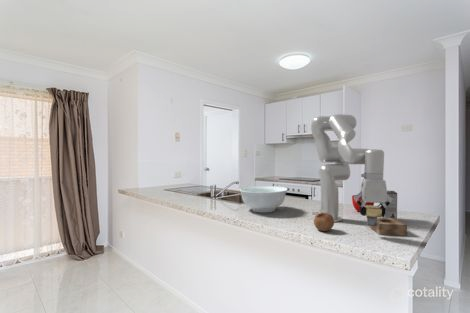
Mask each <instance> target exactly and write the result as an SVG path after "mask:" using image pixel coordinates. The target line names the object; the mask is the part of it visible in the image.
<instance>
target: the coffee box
mask: <svg viewBox="0 0 470 313" xmlns="http://www.w3.org/2000/svg"><path fill="white" fill-rule="evenodd" d="M387 195H389V196H390V197H391V198H393V200H392V201H391V203H390V204H389V205H388V206H387V207H386V208H385V214H384V217H383V216H382V217H381V218H394V219H397V220H398V192H396V191H394V190H387ZM387 200H388V199H387Z"/></svg>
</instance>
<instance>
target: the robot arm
mask: <svg viewBox="0 0 470 313" xmlns="http://www.w3.org/2000/svg"><path fill="white" fill-rule="evenodd" d="M356 126H357V119H356V118H355V116H353V115H352V114H341V113H338V114H336V113H335V114H334V115H332V116H330V115H329V116H325V115H321V116H316V117H314V118H313V119H312V122H311V125H310V131H311V135H312V136H313V138H314V143H315V145H316V146H315V147H316V151H317V156H318V160H319V161H320V162H322V163H326V164H324V165H321V166H320V167H319V170H318V176H319V182H320V209H319V210H318V211H312V213H311V214H312V216H314V217H315V216H316V215H318V214H319V213H329V214H330V215H332V217H333V219H334V223H338V222H341V221H342V217H341V216H339V186H338V185H337V183H336V181H339V182H340V181H347V180H348V179H350V177H351V169H350V168H351V167H350V165H364V170H363V171H364V172H363V173H361V175H360V177H361V178H362V181H361V185H360V192H358V194H355V195H356V196H354V197H353V198H354V199H355V201H356V202H357V203H358V204H359V205H360V213H359V214H360V215H362V217H365V216H366V215H365V207H364V205H365V204H366V202H369V203H374V204H375V203H376V204H381V205H380V206H379V207H381V208H382V216H383V217H384V214H385V208H386V207H387V206H388V205H389V204H390V203H391V201H392V200H393V198H391V197H390V196H389V195H387V191H388V189H387V183H386V180H384V172H385V171H384V170H385V168H384V167H385V152H384V150H383V149H377V148H376V149H370V148H352V147H351V146H350V145H349V143H350V142H351V141H353V140H354V139H355V137H356V134H357V132H356V131H355V128H356ZM326 132H333V133H334V134H335V135H336V136H337V139H338V142H337V146H333V145H332V142H331V138H330V136H329V135H328V134H327V133H326ZM359 197H360V199H361V202H360V201H359V200H358V198H359ZM387 199H388V200H387Z"/></svg>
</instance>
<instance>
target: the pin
mask: <svg viewBox="0 0 470 313" xmlns="http://www.w3.org/2000/svg"><path fill="white" fill-rule="evenodd" d="M364 207H365V216H366V225H367V226H368V227H369V226H377V218H382V208H381V207H380V206H379V207H378V205H374V206H372V205H364Z"/></svg>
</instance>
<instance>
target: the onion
mask: <svg viewBox="0 0 470 313" xmlns="http://www.w3.org/2000/svg"><path fill="white" fill-rule="evenodd" d="M313 218H314V219H313V225H314V226H315V229H317V230H318V231H320V232H327V231H330V230H331V229H332V228H333V227H334V225H335V222H334V219H333V217H332V215H330V214H329V213H319V214H318V215H316V216H315V215H314V217H313Z"/></svg>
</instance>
